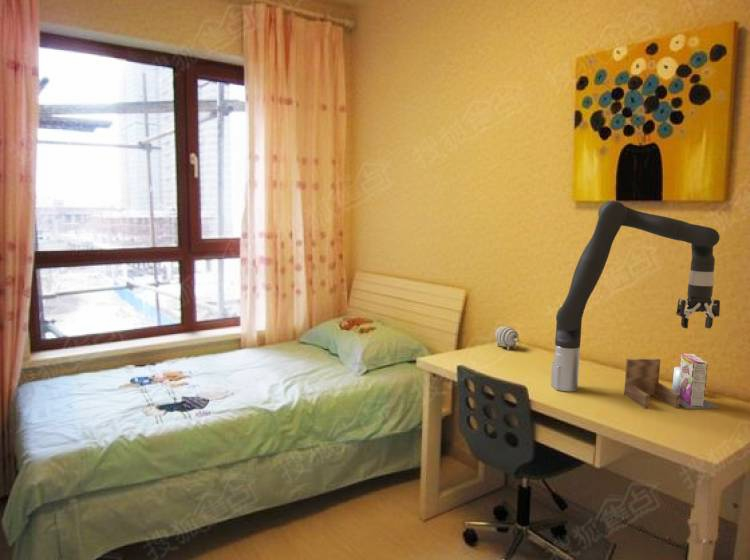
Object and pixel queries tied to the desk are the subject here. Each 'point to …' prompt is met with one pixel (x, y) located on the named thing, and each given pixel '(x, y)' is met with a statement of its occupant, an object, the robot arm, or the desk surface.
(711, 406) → the rubber pad
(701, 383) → the candy bar box
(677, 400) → the walnut bay
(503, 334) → the toy sheep
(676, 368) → the white rounded cylinder
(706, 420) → the desk surface
